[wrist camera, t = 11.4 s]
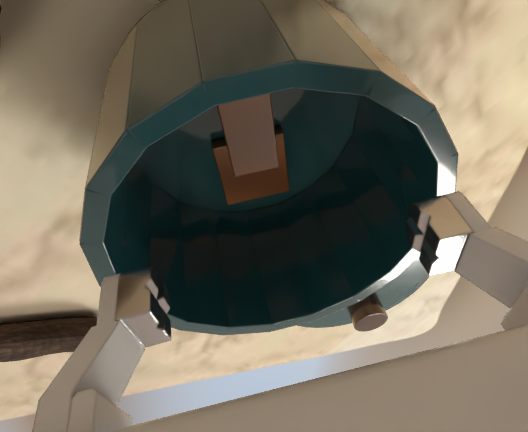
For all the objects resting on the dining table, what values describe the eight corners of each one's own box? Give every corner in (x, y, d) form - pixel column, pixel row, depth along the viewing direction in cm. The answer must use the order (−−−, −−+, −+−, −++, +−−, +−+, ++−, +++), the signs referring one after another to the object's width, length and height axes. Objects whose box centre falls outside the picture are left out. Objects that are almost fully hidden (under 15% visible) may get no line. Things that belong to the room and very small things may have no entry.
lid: (252, 237, 29) (265, 295, 25) (449, 190, 29) (490, 240, 25) (276, 332, 40) (287, 381, 36) (418, 296, 40) (443, 341, 37)
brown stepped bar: (184, 47, 18) (189, 83, 15) (269, 29, 18) (287, 62, 15) (226, 197, 24) (234, 238, 22) (286, 183, 25) (301, 223, 22)
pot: (44, 15, 16) (-28, 134, 10) (380, -59, 16) (514, 9, 10) (160, 234, 26) (160, 360, 20) (363, 185, 27) (425, 293, 21)
